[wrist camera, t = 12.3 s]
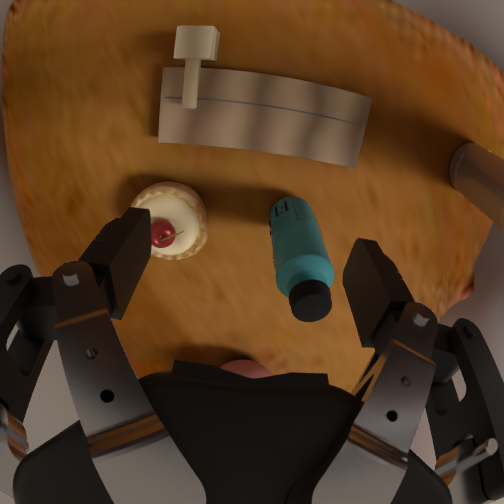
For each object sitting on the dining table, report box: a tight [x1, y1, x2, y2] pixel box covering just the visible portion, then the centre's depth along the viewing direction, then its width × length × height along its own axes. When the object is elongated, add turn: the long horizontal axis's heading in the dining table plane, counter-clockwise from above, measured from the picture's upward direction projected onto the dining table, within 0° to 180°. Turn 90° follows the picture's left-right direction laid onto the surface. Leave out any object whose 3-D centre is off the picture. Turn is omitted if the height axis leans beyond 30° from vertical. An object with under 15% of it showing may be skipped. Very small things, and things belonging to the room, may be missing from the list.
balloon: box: [220, 359, 272, 378], centre depth 60 cm, size 15×20×15 cm
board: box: [158, 67, 373, 168], centre depth 33 cm, size 26×10×2 cm, turn 82°
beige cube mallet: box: [174, 26, 220, 109], centre depth 28 cm, size 4×10×6 cm, turn 173°
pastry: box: [130, 182, 209, 260], centre depth 39 cm, size 12×12×9 cm
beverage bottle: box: [269, 197, 334, 322], centre depth 34 cm, size 6×7×20 cm
